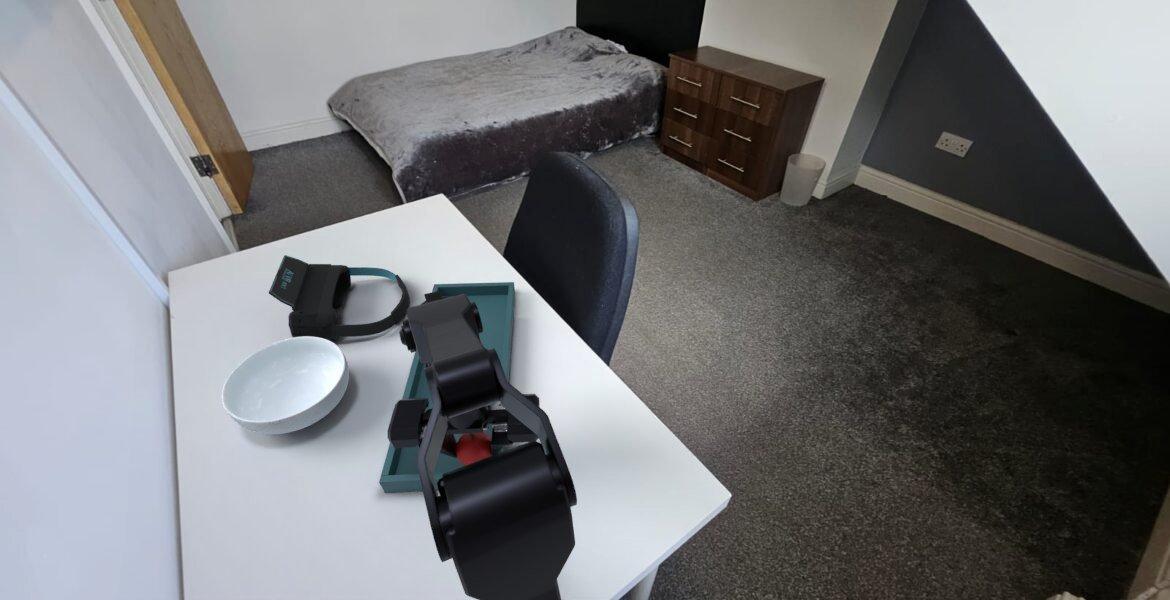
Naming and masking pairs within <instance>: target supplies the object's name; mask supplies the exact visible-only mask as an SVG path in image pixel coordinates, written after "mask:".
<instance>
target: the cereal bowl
mask: <svg viewBox="0 0 1170 600" xmlns="http://www.w3.org/2000/svg"><path fill="white" fill-rule="evenodd" d="M349 381H350V367H349V363H348V360H347V358H346V355H345V354H344V352H343V350H342V349H341V348H340V347H339V346H338V344H336V343H334V342H333V341H331V340H330V339H323V338H319V337H311V336H303V337H294V338H293V337H289V338H288V337H287V338H285V339H281V340H278V341H274V342H272V343H270V344H268V345H266V346H263V347H262V348H259V349H258V350H256V351H254V352H253V353H251V354H250V355H249V356H247V357H246V358H244V359H243V360H242V361H241V362H240V363H239V364H238V365H237V366H236V367H235V368H234V369H233V370H232V371H231V372H230V374H229V376H228V377H227V378H226V380H225V382H224V384H223V387H222V391H221V403H222V406H223V409H224V411H225V412H226V413H227V415H228V416H229V417H230V418H231V419H233V421H234V422H235V423H237V424H238V425H239V426H241V427H242V428H245V430H247V431H250V432H254V433H257V434H262V435H282V434H288V433H294V432H296V431H299V430H302V429H305V428H307V427H309V426H311V425H314V424H315V423H317V422H319V421H320V420H321V419H323V418H325V417H326V416H327V415H328V414H330V413H331V412H332V411H333V410H334V409H335V408H336V406H338V404H339V403H340V402H341V400H342V399H343V397H344V395H345V393H346V391H347V388H348V385H349Z"/></svg>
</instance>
